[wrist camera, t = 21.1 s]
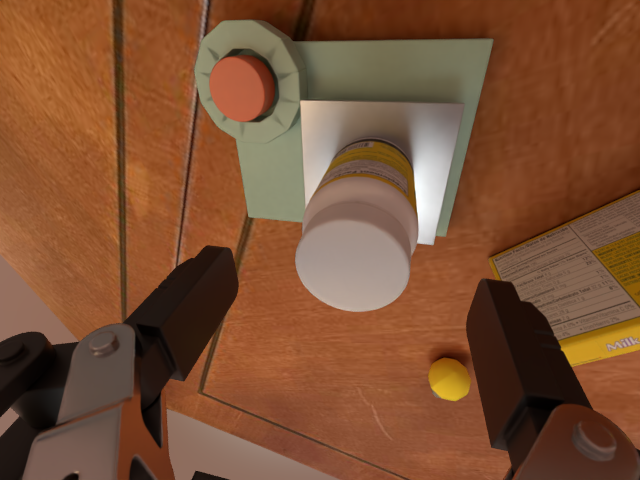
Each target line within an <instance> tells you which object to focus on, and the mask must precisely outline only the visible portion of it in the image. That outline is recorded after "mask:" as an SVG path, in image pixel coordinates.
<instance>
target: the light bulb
mask: <svg viewBox="0 0 640 480" xmlns="http://www.w3.org/2000/svg"><path fill="white" fill-rule="evenodd" d="M428 379H429V382H430V385H431V390H432V393H433V394H434V395H435V396H436V397H438V398H443V399H447V400H452V401H457V400H458V399H460V398H462V397H464V396H466V395H467V394H468V391H469V387H470V384H471V379H470V376H469V374H468V371H467V369H466V368H465V367H464V366H463V365H462V364H461V363H460V362H458V361H457V360H455V359H450V358H445V357H444V358H442V359H440V360H438V361H436V362H434V363H432V365H431V368H430V371H429V374H428Z"/></svg>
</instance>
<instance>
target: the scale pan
mask: <svg viewBox="0 0 640 480" xmlns="http://www.w3.org/2000/svg"><path fill="white" fill-rule="evenodd" d="M464 106H465V103H462V102H414V101H367V100H319V99H301V100H300V112H301V132H302V153H303V173H304V194H305V210H306V208H307V205H308V203H309V201H310V199H311V197H312V195H313V194H314V192H315V190H316V189H317V187H318V185H319V183H320V182H321V180H322V178H323V176H324V174H325V173H326V171H327V169H328V167H329V165H330V163H331V161H332V160H333V158H334V157H335V155H336V154H337V153H338V152H339V151H340V150H341V149H342V148H343V147H344V146H346V145H347V144H349V143H350V142H353V141H355V140H358V139H361V138H370V137H371V138H380V139H384V140H387V141H390V142H392V143H394V144H395V145H397V146H398V147H399V148H400V149H402V150H403V151H404V153H405V154H406V155H407V157H408V158H409V160H410V162H411V165H412V168H413V172H414V181H415V191H416V202H417V213H418V226H419V232H418V241H417V243H419V244H428V245H434V240H435V236H436V231H437V227H438V222H439V218H440V213H441V209H442V204H443V200H444V195H445V191H446V186H447V182H448V177H449V173H450V169H451V164H452V160H453V155H454V151H455V146H456V142H457V137H458V133H459V128H460V124H461V119H462V115H463V110H464Z"/></svg>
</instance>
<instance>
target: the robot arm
mask: <svg viewBox="0 0 640 480" xmlns="http://www.w3.org/2000/svg"><path fill="white" fill-rule="evenodd" d="M238 287H239V283H238V277H237V273H236V268H235V263H234V259H233V254H232V251H231V249H230V248H227V247H218V246H210V245H208V246H205V247H204V248H203V249H202V250H201V252H200V253H199V254H198V255H197V256H196V257H195V258H190V259H189V260H187V261H185V262H184V263H182V264H180V265H179V266H177V267H176V268H175V269H174V270H173V271H172V272H171V273H170V274H169V275H168V276H167V279H164V281H163V282H162V283H161V284H160V285H159V286H158V288H156V289H155V290H154V291H153V292H152V293H151V294H150V295H149V296H148V297H147V298H146V299H145V300H144V301H143V303H142V304H141V305H140V306H139V307H138V308H137V309H136V310H135V311H134V312H133V313H132V314H131V315H130V316H129V317H128V318H127V319H126V320H125V321H124V322H123V323H116V324H110V325H106V326H104V327H101V328H99V329H97V330H95V331H93V332H91V333H90V334H89V335H87V336H86V337H85V338H83V339H82V340H81V341H80V342H74V343H65V344H56V345H51V343H50V342H49V341H48V339H47V338H46V337H45V336H44V334H42V333H40V332H26V333H21V334H18V335H15V336H12V337H10V338H8V339H6V340H4V341H2V342H0V417H1V416H2V415H3V414H4V413H5V412H6V411H7V410H8V409H9V408H10V407H11V408H12V409H13V410H14V411H15V412H16V413H17V414H18V415H19V418H18V419H17V420H16V421H15V422H14V423H13V424H12V425H11V426H10V427H9V428H8V429H7V430H6V432H5V433H4V434H3V435H2V436H1V437H0V480H175V477H174V472H173V469H172V465H171V462H170V457H169V449H168V430H167V411H166V393H165V389H164V386H165V385H166V383H167V382H168V380H169V379H175V380H179V381H185V379H186V378H187V376H188V374H189V373H190V371H191V369H192V368H193V366H194V365H195V363H196V361H197V360H198V358H199V357H200V355H201V353H202V352H203V350H204V349H205V347H206V345H207V344H208V342H209V340H210V339H211V337H212V336H213V334H214V332H215V331H216V329H217V328H218V326H219V324H220V323H221V321H222V320H223V318H224V316H225V315H226V313H227V311H228V310H229V308H230V307H231V305H232V303H233V302H234V300H235V298H236V296H237V293H238ZM466 331H467V338H468V342H469V347H470V351H471V356H472V361H473V365H474V370H475V374H476V379H477V384H478V388H479V393H480V397H481V402H482V407H483V411H484V416H485V421H486V425H487V430H488V434H489V439H490V444H491V448H496V449H501V450H505V451H508V453H509V457H510V461H511V465H512V466H511V467H510V468H509V470H508V471H507V473H506V475H505V477H504V478H503V480H640V450H638V449H636V448H635V446H634V445H633V443H632V442H631V441H630V439H629V438H628V437H627V436H626V434H625V433H624V432H623V431H622V430H621V429H620V428H619V427H618V426H617V425H615V424H614V423H613V422H612V421H611V420H609V419H608V418H606V417H605V416H603V415H602V414H600V413H598V412H596V411H594V410H593V408H592V407H591V405H590V403H589V401H588V399H587V397H586V395H585V393H584V391H583V389H582V387H581V385H580V383H579V381H578V379H577V377H576V375H575V373H574V371H573V369H572V367H571V365H570V363H569V361H568V359H567V357H566V356H565V354H564V352H563V351H562V350H561V346H560V344H559V342H558V340H557V338H556V337H555V336H554V332H553V330H552V328H551V326H550V324H549V322H548V320H547V318H546V317H545V316H544V315H543V314H542V313H541V312H540V311H539V310H538V309H537V308H536V307H535V306H534V305H533V304H532V303H531V302H527V301H521V300H520V298H519V296H518V293H517V291H516V289H515V287H514V285H513V283H512V282H509V281H501V280H492V279H484V278H483V279H481V280H480V282H479V284H478V287H477V290H476V293H475V296H474V298H473V301H472V304H471V307H470V310H469V313H468V316H467V323H466ZM192 480H229V479H225V478H221V477H218V476H214V475H210V474H206V473H202V472H199V471H195V473H194V476H193V478H192Z"/></svg>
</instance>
